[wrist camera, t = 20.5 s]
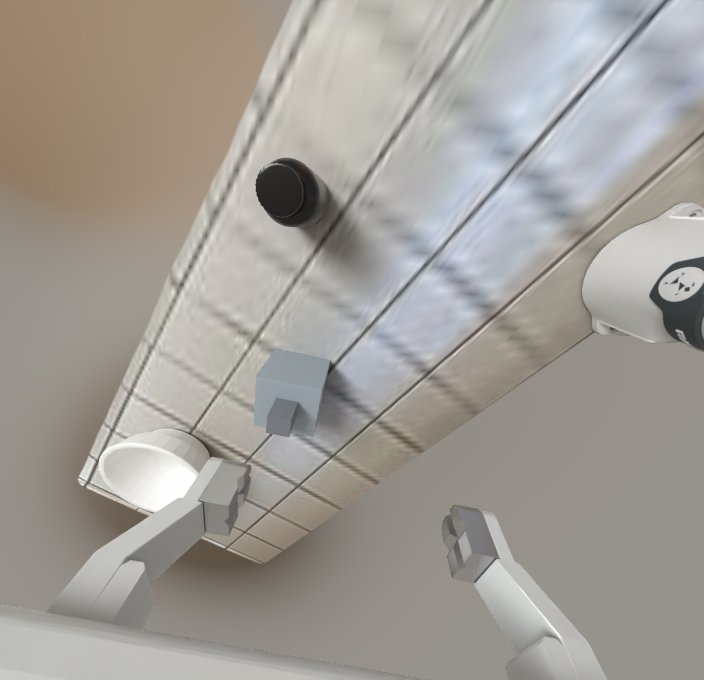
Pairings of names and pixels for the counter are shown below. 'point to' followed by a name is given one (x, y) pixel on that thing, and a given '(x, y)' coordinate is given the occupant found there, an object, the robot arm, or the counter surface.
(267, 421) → the grey block with knob
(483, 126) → the counter surface
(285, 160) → the supplement bottle
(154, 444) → the bowl
